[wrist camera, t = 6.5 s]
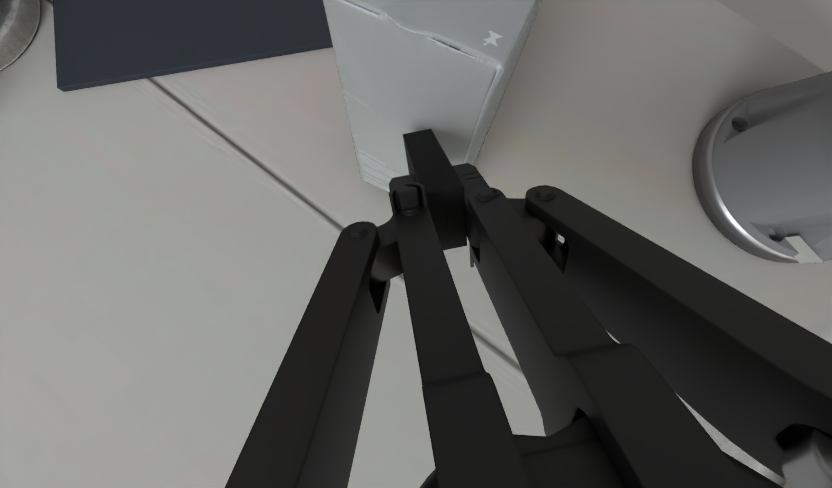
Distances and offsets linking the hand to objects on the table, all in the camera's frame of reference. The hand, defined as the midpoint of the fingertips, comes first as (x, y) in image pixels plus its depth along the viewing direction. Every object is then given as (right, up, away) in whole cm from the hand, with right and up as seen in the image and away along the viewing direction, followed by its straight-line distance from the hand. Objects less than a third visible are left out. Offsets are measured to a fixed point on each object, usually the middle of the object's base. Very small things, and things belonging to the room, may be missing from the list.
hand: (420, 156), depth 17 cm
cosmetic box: (0, +1, +11) cm, 11 cm away
